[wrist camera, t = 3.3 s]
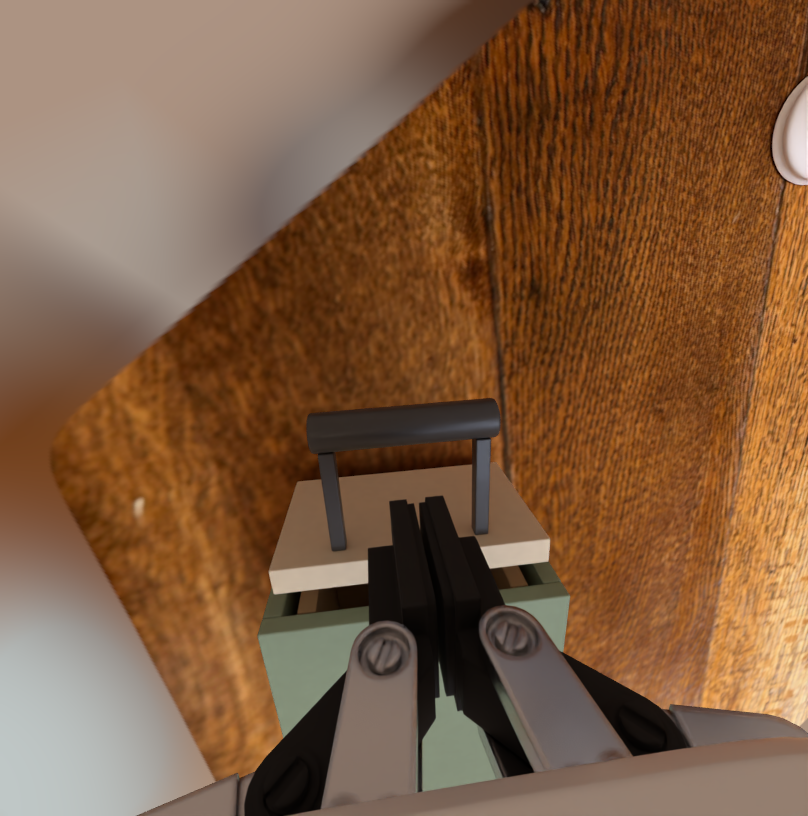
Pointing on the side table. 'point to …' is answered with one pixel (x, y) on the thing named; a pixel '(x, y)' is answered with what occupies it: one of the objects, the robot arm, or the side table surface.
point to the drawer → (370, 494)
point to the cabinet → (329, 656)
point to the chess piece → (793, 137)
